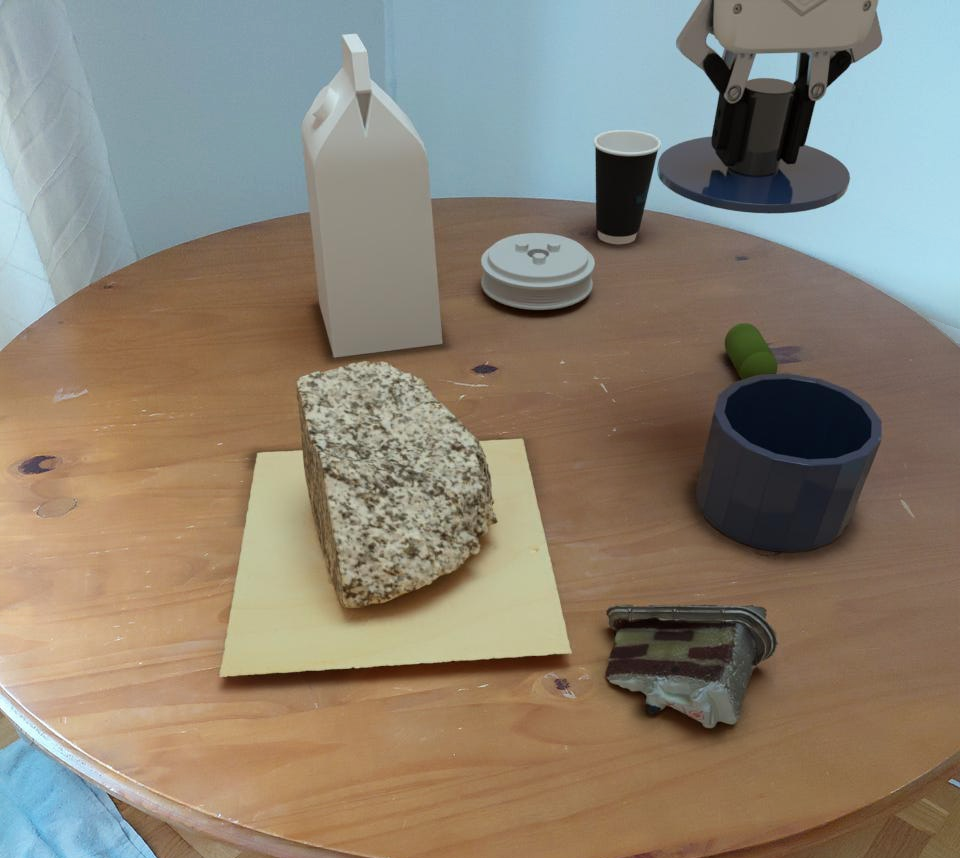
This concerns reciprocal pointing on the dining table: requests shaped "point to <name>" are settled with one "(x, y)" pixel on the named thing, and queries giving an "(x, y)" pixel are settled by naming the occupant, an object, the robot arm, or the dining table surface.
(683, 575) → the dining table surface
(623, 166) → the dixie cup
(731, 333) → the green rounded cylinder
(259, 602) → the rock
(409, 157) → the milk
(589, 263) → the lid
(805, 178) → the pot lid
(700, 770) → the dining table surface
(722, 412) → the pot
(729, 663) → the chocolate cake
